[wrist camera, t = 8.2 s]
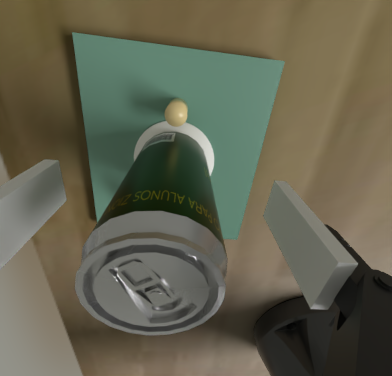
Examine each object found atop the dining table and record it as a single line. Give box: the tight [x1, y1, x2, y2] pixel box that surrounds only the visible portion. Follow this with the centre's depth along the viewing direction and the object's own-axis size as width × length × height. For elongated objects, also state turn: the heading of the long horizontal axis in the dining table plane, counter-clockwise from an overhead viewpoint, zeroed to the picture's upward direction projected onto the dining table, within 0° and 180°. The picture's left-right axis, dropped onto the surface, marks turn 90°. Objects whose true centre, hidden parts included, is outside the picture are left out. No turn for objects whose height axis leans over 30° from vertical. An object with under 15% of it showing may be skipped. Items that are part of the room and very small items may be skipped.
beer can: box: [75, 132, 228, 335], centre depth 12 cm, size 5×5×12 cm
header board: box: [72, 32, 285, 240], centre depth 17 cm, size 16×14×4 cm
